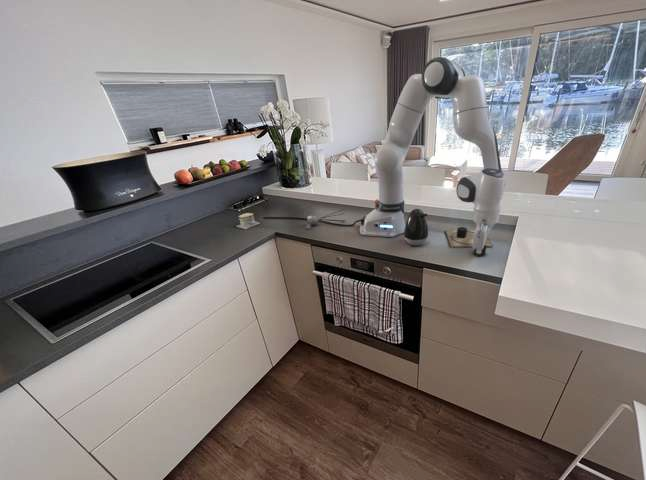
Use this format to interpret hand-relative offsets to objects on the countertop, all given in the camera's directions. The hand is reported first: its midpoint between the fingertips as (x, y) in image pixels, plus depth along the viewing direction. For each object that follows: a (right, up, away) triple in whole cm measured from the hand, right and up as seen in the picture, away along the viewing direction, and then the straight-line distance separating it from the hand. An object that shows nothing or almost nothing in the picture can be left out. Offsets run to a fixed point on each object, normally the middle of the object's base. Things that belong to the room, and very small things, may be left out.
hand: (480, 249), depth 110 cm
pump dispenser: (-22, +4, +13) cm, 26 cm away
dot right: (0, -2, +1) cm, 2 cm away
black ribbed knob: (-2, +7, +14) cm, 16 cm away
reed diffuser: (-64, +15, +38) cm, 76 cm away
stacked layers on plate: (-108, +16, +45) cm, 118 cm away
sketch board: (0, +5, +13) cm, 14 cm away
